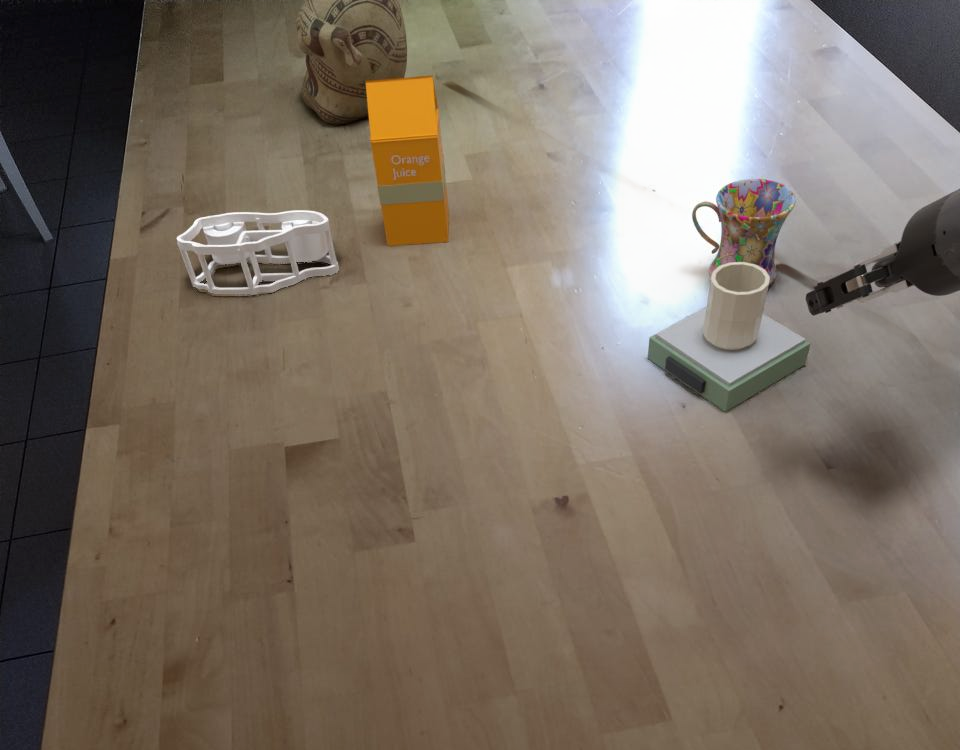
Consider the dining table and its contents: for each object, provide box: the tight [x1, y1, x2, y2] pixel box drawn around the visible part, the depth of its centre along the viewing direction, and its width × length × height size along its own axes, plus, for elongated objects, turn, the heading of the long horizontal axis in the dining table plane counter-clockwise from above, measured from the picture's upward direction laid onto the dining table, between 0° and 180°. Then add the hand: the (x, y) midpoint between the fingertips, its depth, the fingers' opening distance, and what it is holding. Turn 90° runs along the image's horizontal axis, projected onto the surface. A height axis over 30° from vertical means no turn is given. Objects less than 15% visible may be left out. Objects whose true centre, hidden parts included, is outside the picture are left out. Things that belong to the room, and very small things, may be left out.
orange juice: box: [365, 74, 450, 247], centre depth 121 cm, size 8×9×20 cm
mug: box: [691, 178, 797, 286], centre depth 112 cm, size 12×9×11 cm
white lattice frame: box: [176, 209, 340, 295], centre depth 122 cm, size 20×11×7 cm, turn 85°
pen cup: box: [703, 262, 770, 350], centre depth 101 cm, size 6×6×8 cm
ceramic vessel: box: [295, 0, 408, 126], centre depth 142 cm, size 19×21×30 cm
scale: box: [647, 305, 812, 413], centre depth 105 cm, size 14×13×4 cm
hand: (846, 290), depth 87 cm, fingers open, 8 cm apart
